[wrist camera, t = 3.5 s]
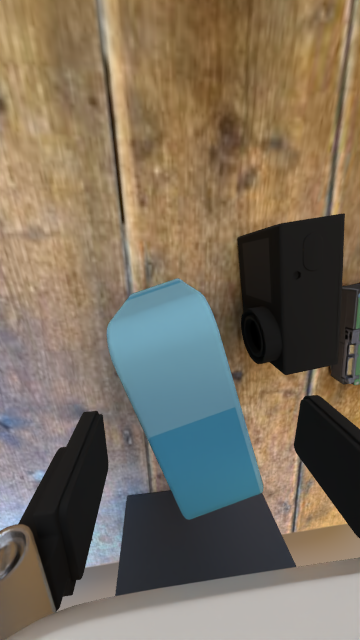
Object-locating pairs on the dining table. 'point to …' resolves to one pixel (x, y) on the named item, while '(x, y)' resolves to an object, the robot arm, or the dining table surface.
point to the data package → (184, 396)
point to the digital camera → (293, 293)
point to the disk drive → (349, 337)
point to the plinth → (196, 543)
